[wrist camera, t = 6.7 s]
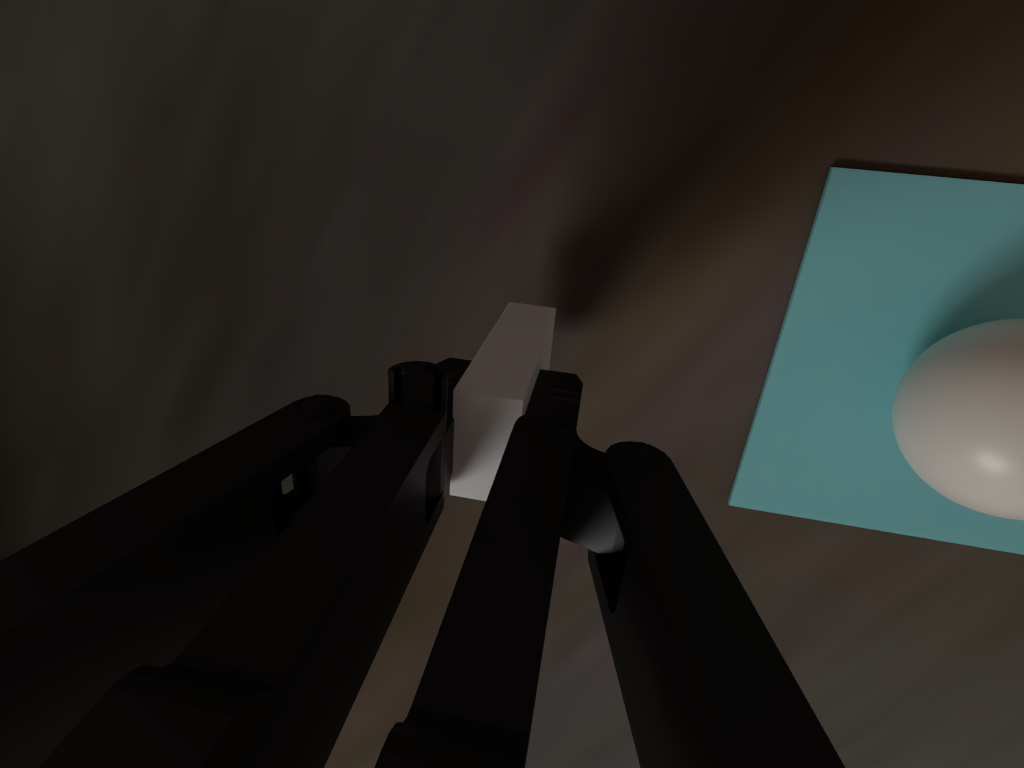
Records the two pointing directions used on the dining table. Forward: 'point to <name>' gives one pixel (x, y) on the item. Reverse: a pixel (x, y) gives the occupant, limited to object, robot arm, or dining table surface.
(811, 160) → the dining table surface
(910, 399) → the ball
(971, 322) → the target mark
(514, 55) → the dining table surface
